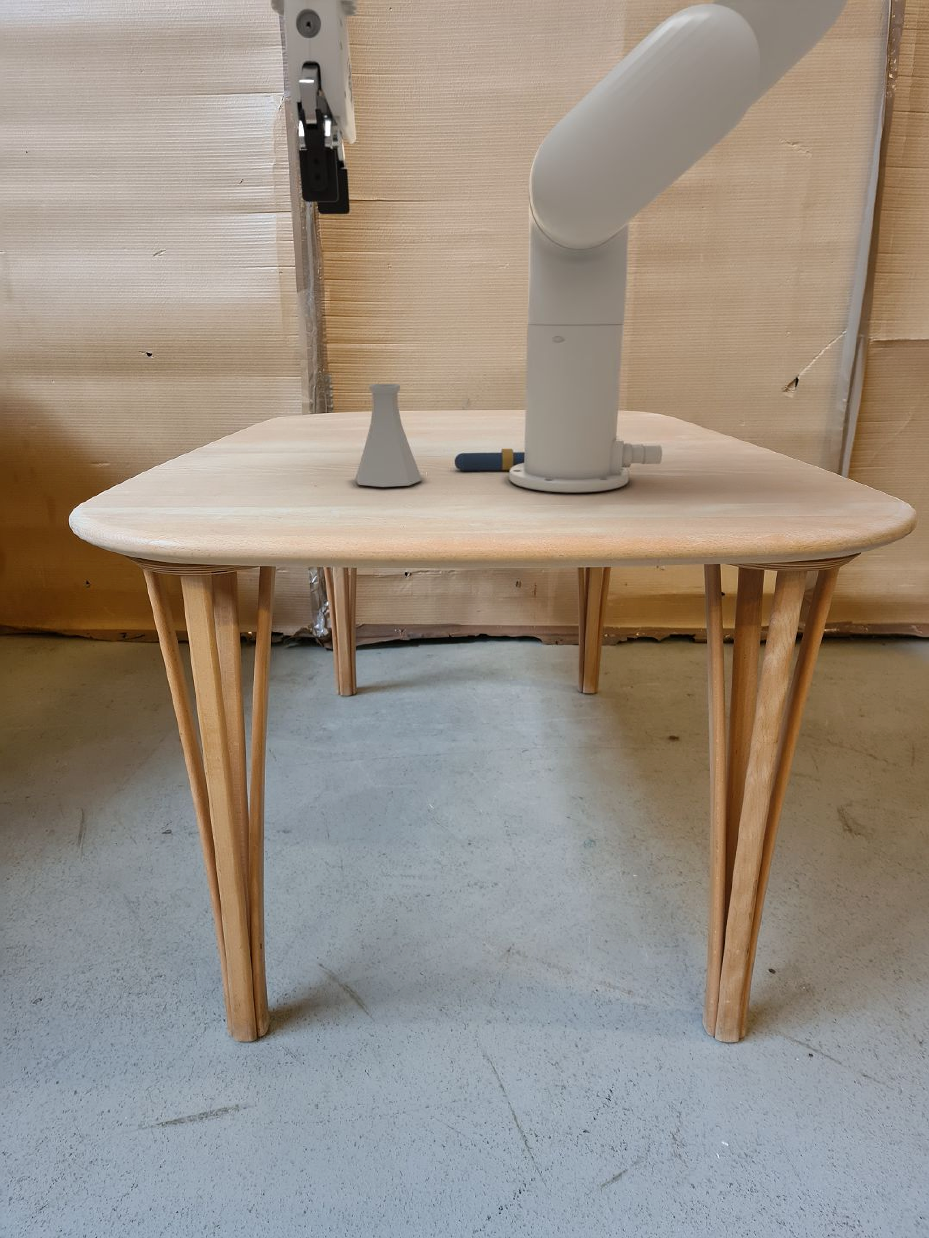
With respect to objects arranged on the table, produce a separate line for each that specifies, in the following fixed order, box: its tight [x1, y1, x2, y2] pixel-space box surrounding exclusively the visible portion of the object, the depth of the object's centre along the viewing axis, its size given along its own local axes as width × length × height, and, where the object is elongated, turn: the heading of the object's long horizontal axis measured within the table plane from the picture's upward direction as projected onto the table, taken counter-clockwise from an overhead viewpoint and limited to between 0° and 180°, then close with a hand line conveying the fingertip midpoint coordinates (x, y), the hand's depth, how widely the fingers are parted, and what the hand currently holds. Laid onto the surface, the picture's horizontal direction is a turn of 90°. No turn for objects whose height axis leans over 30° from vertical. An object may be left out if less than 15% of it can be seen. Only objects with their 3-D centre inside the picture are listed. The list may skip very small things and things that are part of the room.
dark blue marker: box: [454, 448, 525, 472], centre depth 87 cm, size 12×2×2 cm, turn 92°
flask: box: [355, 383, 423, 488], centre depth 80 cm, size 7×7×10 cm
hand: (327, 208), depth 73 cm, fingers open, 9 cm apart
